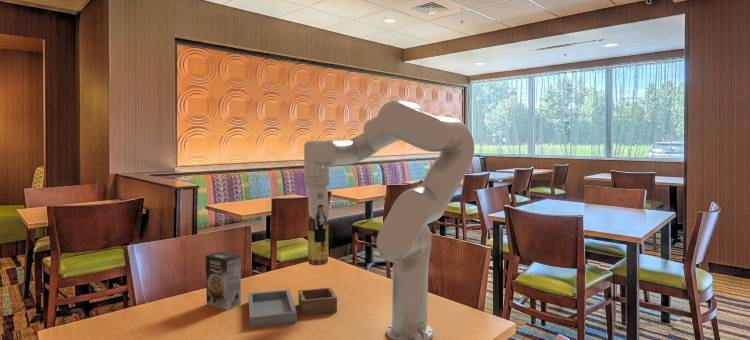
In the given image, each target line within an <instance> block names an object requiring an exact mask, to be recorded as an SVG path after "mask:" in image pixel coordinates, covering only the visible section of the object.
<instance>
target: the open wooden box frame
mask: <svg viewBox="0 0 750 340" xmlns="http://www.w3.org/2000/svg"><path fill="white" fill-rule="evenodd" d="M298 307H299V310H300V312H301V316H302V317H305V316H313V315H314V316H315V315H321V314H330V313H331V314H332V313H337V312H338V297H337V295H336V294H335V292H334V290H333V289H332V287H323V288H321V287H319V288H313V289H310V288H309V289H302V290H300V289H299V290H298Z"/></svg>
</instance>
